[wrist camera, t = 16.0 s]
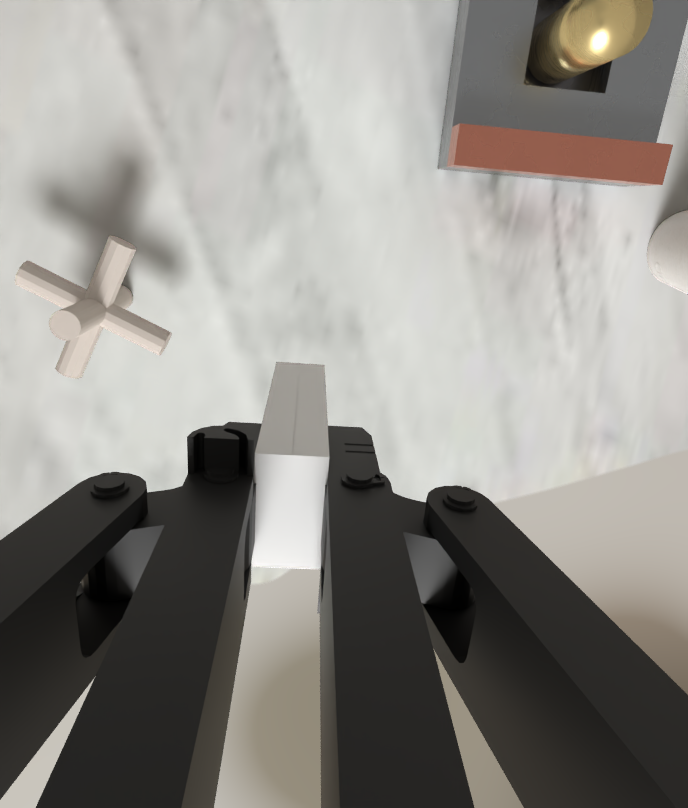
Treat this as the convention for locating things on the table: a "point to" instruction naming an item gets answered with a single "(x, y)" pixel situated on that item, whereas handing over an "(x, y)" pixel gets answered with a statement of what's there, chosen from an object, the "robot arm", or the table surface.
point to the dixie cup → (670, 252)
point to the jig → (557, 101)
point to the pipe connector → (92, 308)
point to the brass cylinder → (586, 36)
